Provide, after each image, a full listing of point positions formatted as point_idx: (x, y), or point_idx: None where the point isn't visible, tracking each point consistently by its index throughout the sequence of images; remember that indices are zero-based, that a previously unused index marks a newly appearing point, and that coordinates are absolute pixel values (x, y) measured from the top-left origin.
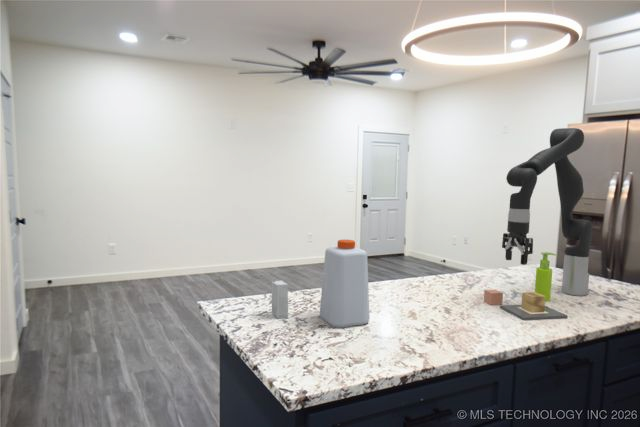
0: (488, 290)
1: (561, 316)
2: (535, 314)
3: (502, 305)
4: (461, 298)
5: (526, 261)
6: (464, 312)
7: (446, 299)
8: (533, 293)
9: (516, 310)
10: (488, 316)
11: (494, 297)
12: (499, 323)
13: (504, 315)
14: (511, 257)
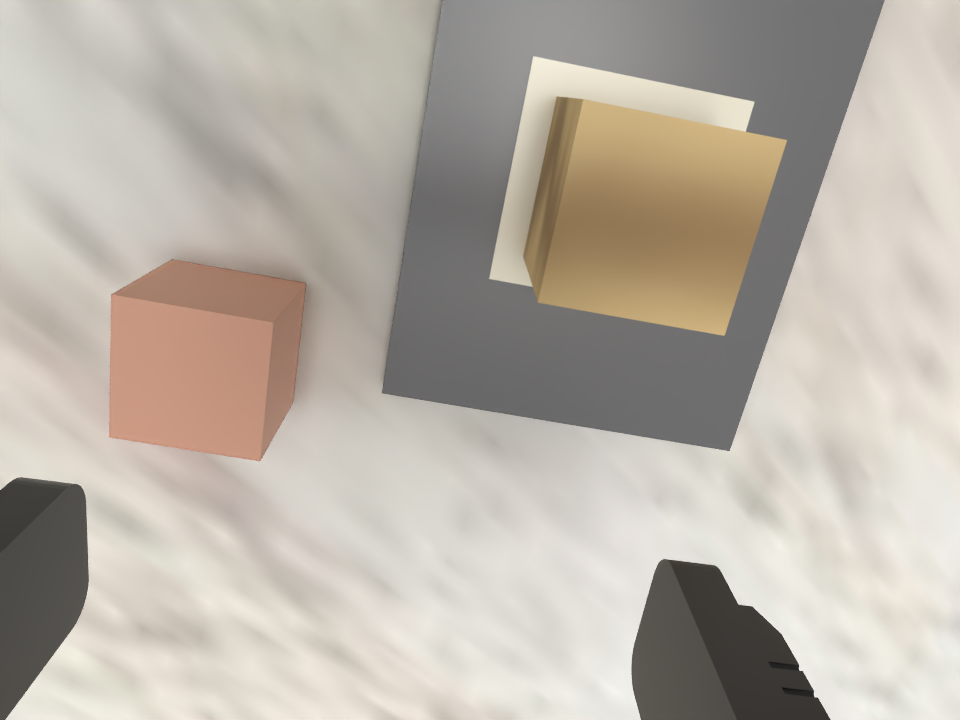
0: (141, 411)
1: (867, 36)
2: None
3: (390, 370)
4: None
5: (777, 669)
6: (400, 713)
7: None
8: (619, 180)
9: (559, 360)
10: (536, 619)
11: (276, 404)
12: None
13: (564, 492)
14: (40, 519)
